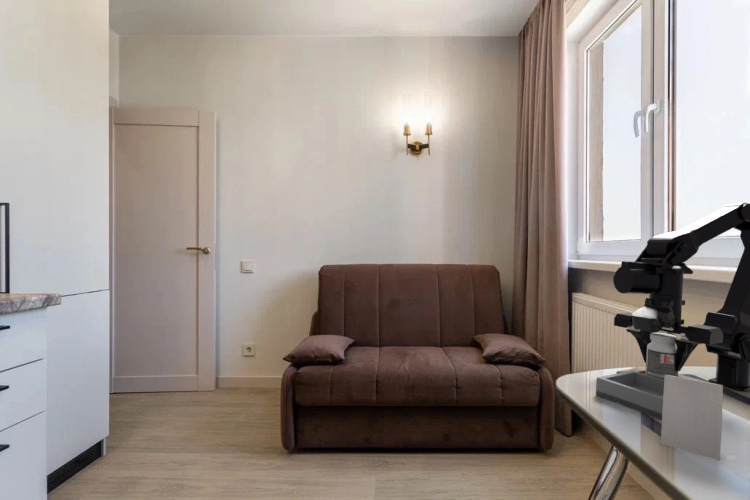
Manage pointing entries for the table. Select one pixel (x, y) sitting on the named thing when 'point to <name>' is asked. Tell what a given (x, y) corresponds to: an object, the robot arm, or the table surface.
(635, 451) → the table surface
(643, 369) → the socket block
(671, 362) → the pill bottle
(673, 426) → the upright grey panel
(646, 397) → the parts tray
